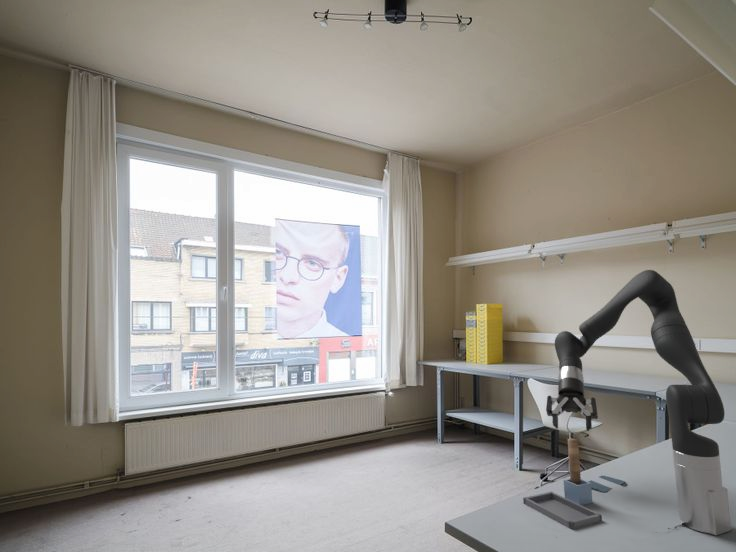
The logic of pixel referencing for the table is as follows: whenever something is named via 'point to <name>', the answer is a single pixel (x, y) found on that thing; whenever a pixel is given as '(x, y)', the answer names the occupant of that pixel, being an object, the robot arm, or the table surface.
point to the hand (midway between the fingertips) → (571, 428)
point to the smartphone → (604, 488)
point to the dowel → (574, 461)
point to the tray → (562, 510)
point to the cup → (578, 492)
